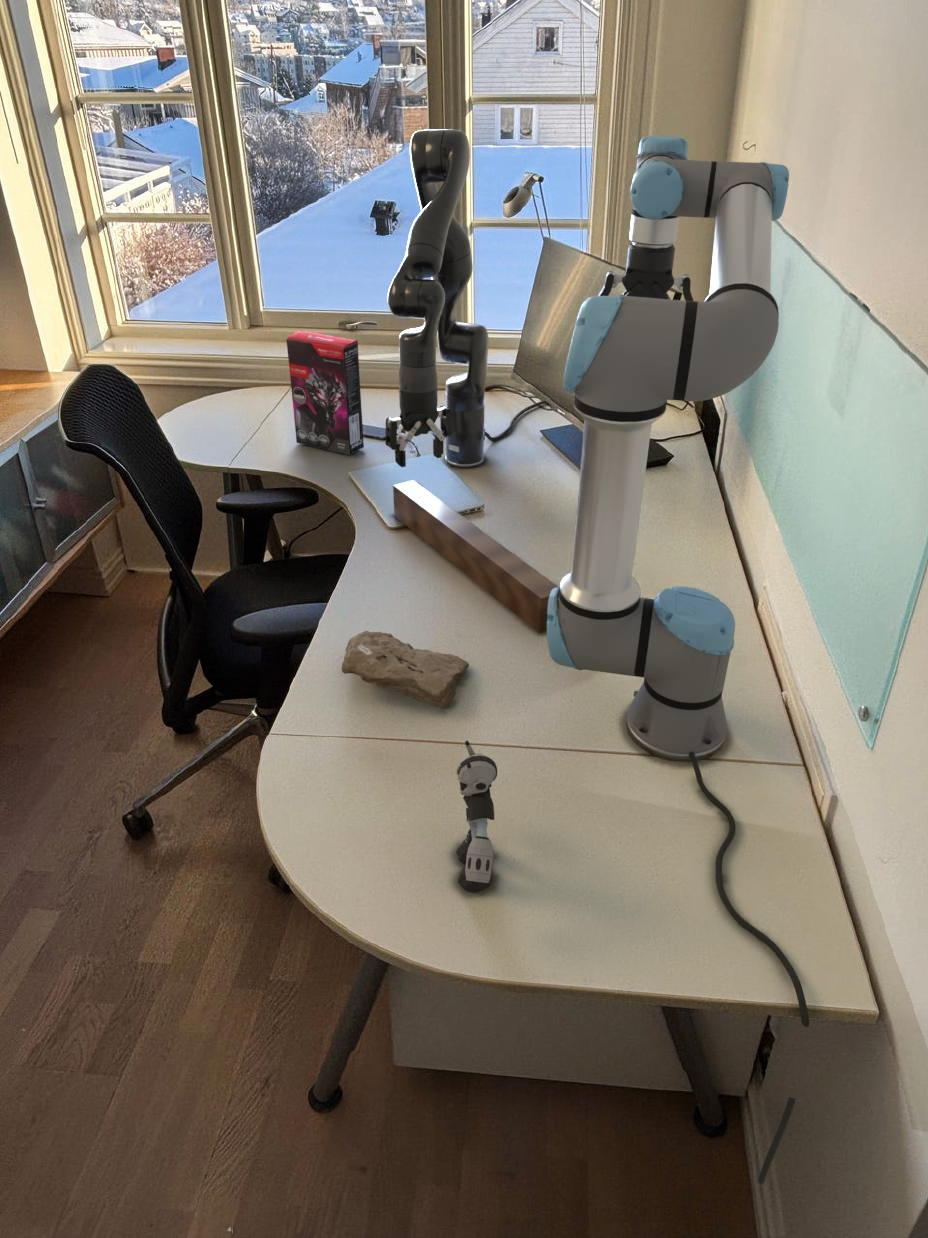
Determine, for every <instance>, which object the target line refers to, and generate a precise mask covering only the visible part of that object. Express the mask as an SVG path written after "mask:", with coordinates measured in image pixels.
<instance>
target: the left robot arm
mask: <svg viewBox="0 0 928 1238" xmlns="http://www.w3.org/2000/svg"><path fill="white" fill-rule="evenodd" d="M409 155H410V157H409V158H410V164H411V171H412V174H413V175H412V176H413V180H414V184H415V189H416V193H417V197H418V198H417V199H418V202H419V206H420V212H419V214H418V215H417V216H416V217H415V219H414V220H413V223H412V225H411V228H410V231H409V233H408V239H407V245H406V251H405V255H404V258H403V260H402V262H401V264H400V266H399V268H398V270H397V272H396V274H395V275H394V277H393V279H392V281H391V283H390V286H389V288H388V292H387V305H388V306H387V307H388V308H389V311H390V313H391V314H392V315H393V316H395V317H397V318H401V319H415V320H416V319H419V320H424V323H423V325H422V326H419V327H413V328H409V329H405V330H403V331H401V333H400V334H399V337H398V350H399V351H398V353H399V357H398V358H399V366H398V367H399V368H398V393H399V396H398V397H399V399H398V401H399V410H400V414H399V417H394V418H391V416H388V417H386V419H385V446H387V447H388V448H389V449H391V450H392V451H394V458H395V463H396V464H397V465H398V466H399V467H401V468H405V467H407V461H406V460H407V457H406V455H407V454H406V449H405V448H406V447H407V445H408V443H410V442H411V441H412V440H413V437H418V436H421V435H427V434H428V435H429V432H430V434H431V435H432V436H433V438H432V452H433V453H432V454H433V456H434V457H435V458H436V459H440V458H442V455H443V454H444V441H445V462H446V463H447V464H448V465H450V466H453V467H456V468H473V467H474V468H475V467H476V466H477V467H478V466H480V465H481V464H483V462H484V460H485V456H484V454H485V453H484V451H485V450H484V449H485V448H484V447H485V441H486V438H487V440H488V441H491V442H495V441H499V440H500V439H502V438H504V437H505V436H506V435H507V434H508V433H509V432H510V431H511V430H512V429H513V427H514V425H515V422H516V421H517V420H518V419H519V418H520V417H521V416H522V415H523V414H525V413H526V412H529V411H530V410H532V409H535V408H538V407H539V406H541V405H544V404H547V403H548V402H546V401H544V400H545V399H543V400H540V401H538V402H536V403H533V404H531V405H528V406H527V407H525V408H523V409H522V410H520V411H518V413H516V414H515V416H514V417H513V418H512V419H511V421H510V423H509V426H508V427H507V428H506V429H504V431H503V432H501V433H500V434H498V435H496V436H494V437H492V436H491V435H490V434H489V433H488V432H487V431H486V429H485V410H486V409H485V405H486V403H485V401H486V382H487V374H488V373H487V371H488V355H489V341H490V340H489V332H488V330H487V328H486V326H484V325H482V324H478V323H477V324H476V323H471V322H463V321H458V320H457V315H456V307H457V304H458V302H459V299H460V297H461V295H462V294H463V293H464V291H465V290H466V288H467V285H468V284H469V282H470V280H471V278H472V277H471V276H472V275H473V268H474V266H473V255H472V248H471V242H470V238H469V236H468V234H467V232H466V230H465V229H464V227H463V226H462V225H461V223H460V222H459V221H458V219H457V218H456V217H455V216H454V214H455V211H456V208H457V206H458V204H459V201H460V197H461V195H462V191H463V188H464V186H465V183H466V180H467V176H468V173H469V167H470V161H471V160H470V159H471V149H470V142H469V138H468V136H467V134H466V133H465V132H464V131H463V130H460V129H453V128H450V129H449V128H448V129H445V128H444V129H421V130H417V131H414V133H413V134H412V136H411V138H410V143H409ZM437 183H442V184H441V186H440V188H438V185H437ZM429 278H431V279H429ZM436 346H437V347H438V353H439V355H440V358H441V360H442V361H444V362H446V363H450V364H455V365H462V366H467V372H464V373H460V374H456V375H452V376H451V377H449V378H448V379H447V380H446V382H445V405H444V404H442V405H440V406H439V408H438V369H437V347H436ZM438 418H439V421H440V428H438V426H437V424H435V423H436V421H437V420H438ZM400 425H401V427H400Z"/></svg>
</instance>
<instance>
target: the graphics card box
mask: <svg viewBox="0 0 928 1238" xmlns="http://www.w3.org/2000/svg"><path fill="white" fill-rule="evenodd" d="M285 341H286V348H287V349H286V350H287V359H288V369H289V378H290V389H291V398H292V408H293V420H294V428H295V441H296V444H300V445H304V446H309V447H314V448H317V449H321V450H326V451H330V452H334V453H340V454H343V455H348V456H351V455H353V454H354V453H356V452H358V451H359V450H361V449H363V448H364V445H365V443H364V428H363V427H364V426H363V424H364V423H363V411H362V409H363V408H362V396H361V377H360V361H359V341H358V339H350V338H343V337H339V336H333V335H330V334H329V335H328V334H324V333H318V332H313V331H312V332H311V331H306V330H298V331H295V332H293V333H292V334H290V335H289V336H288V337H286V340H285Z"/></svg>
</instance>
